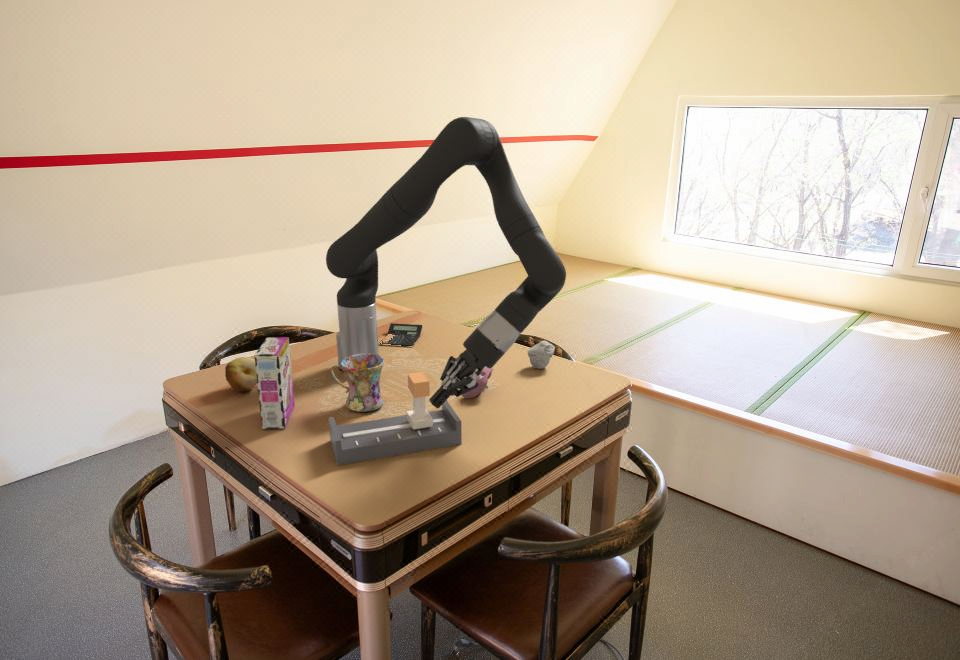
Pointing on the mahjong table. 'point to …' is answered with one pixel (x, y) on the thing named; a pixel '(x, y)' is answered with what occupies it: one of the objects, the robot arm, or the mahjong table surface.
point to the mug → (362, 381)
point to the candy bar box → (274, 382)
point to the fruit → (241, 373)
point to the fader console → (393, 436)
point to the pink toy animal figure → (480, 383)
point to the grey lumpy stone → (541, 354)
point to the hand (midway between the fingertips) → (433, 404)
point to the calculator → (403, 334)
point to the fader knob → (419, 401)
